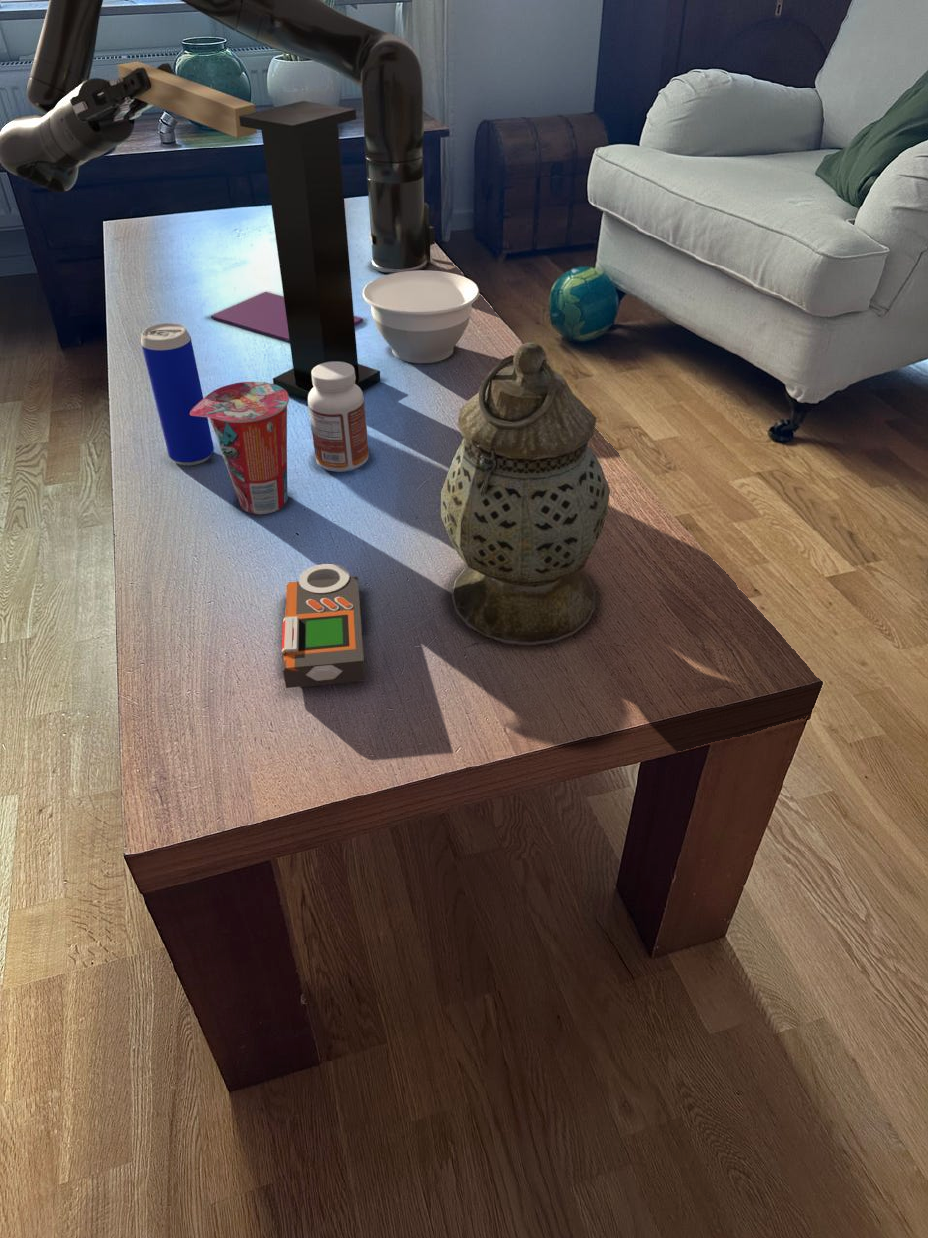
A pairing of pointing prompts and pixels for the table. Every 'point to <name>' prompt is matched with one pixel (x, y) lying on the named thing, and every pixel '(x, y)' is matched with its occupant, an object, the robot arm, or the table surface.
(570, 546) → the lantern
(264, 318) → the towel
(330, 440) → the pill bottle
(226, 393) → the cup
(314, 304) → the stand
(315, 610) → the electronic device
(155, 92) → the birch stick
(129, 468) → the table surface
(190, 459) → the beverage can
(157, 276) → the table surface
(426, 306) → the bowl
